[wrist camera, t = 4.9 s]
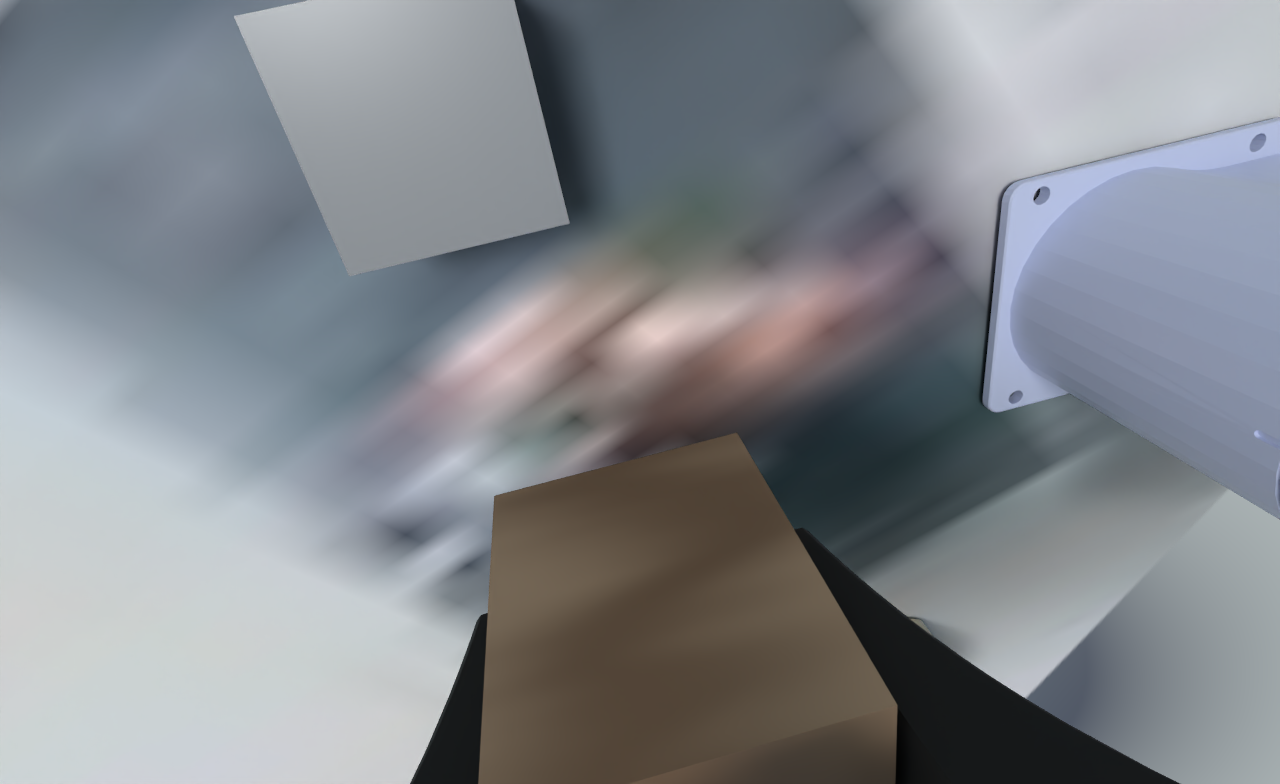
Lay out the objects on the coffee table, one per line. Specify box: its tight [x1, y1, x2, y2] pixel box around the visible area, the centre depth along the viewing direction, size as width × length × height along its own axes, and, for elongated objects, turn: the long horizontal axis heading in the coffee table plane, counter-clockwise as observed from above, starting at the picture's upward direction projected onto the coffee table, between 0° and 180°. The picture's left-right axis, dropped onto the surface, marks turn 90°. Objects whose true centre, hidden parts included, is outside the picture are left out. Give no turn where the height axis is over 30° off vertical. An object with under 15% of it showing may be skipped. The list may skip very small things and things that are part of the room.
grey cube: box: [234, 0, 570, 276], centre depth 13 cm, size 4×4×4 cm
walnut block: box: [478, 433, 897, 784], centre depth 10 cm, size 4×4×6 cm
